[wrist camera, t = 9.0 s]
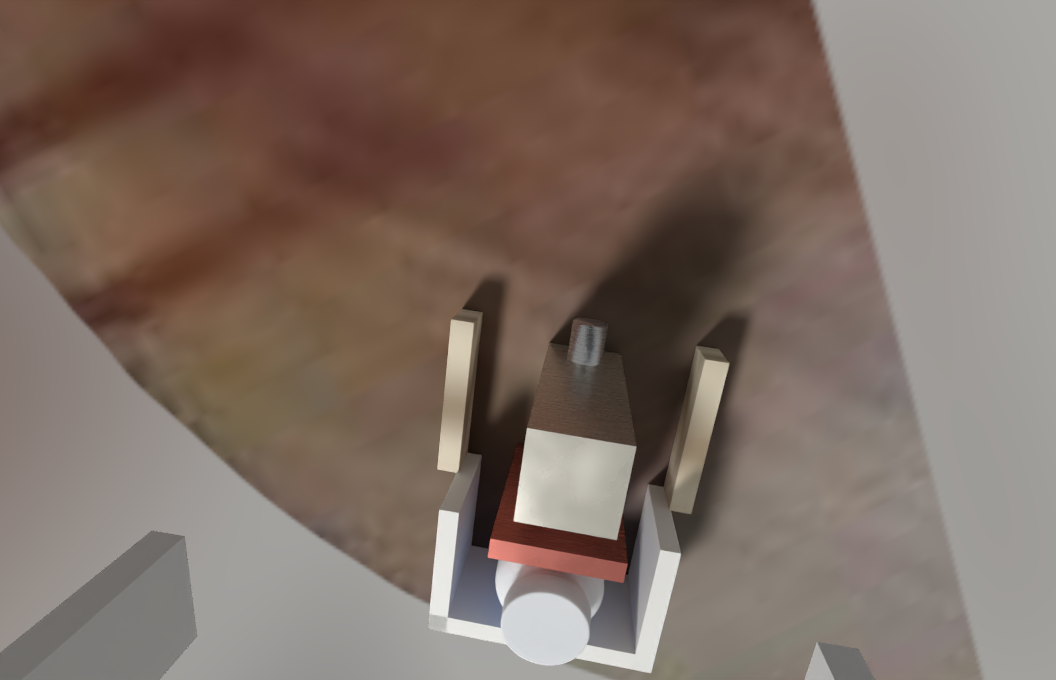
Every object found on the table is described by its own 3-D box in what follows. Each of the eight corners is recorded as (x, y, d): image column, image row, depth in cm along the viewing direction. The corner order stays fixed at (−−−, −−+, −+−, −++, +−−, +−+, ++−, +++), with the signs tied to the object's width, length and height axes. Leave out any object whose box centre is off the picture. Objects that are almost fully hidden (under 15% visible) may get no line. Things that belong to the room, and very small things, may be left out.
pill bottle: (595, 550, 34) (596, 691, 24) (509, 537, 34) (479, 670, 25) (608, 473, 32) (614, 591, 23) (518, 459, 33) (488, 571, 23)
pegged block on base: (536, 305, 30) (506, 372, 19) (645, 322, 29) (676, 400, 19) (515, 458, 33) (478, 590, 22) (614, 475, 32) (626, 618, 22)
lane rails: (461, 309, 30) (451, 319, 28) (718, 349, 29) (729, 363, 27) (448, 449, 33) (437, 469, 31) (683, 490, 32) (691, 514, 30)
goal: (465, 452, 33) (439, 509, 27) (665, 487, 32) (681, 553, 26) (454, 555, 35) (427, 628, 29) (640, 590, 34) (650, 672, 28)
